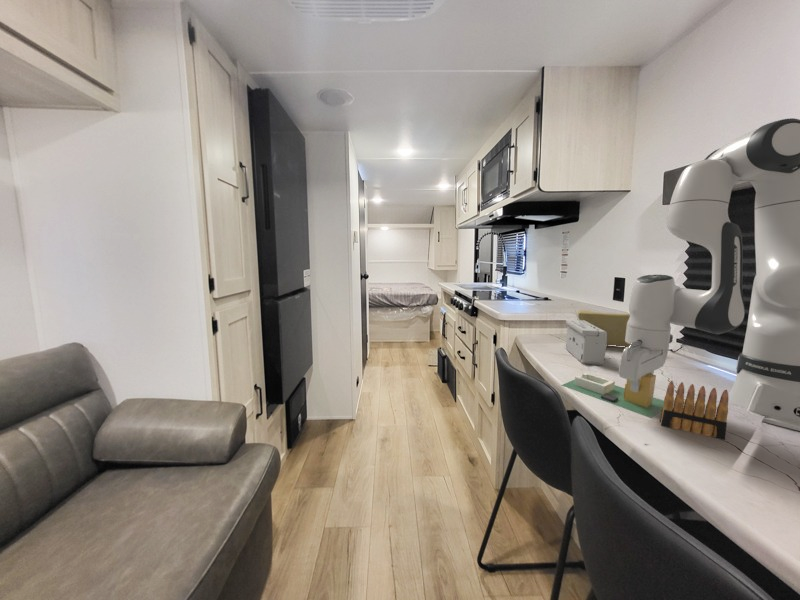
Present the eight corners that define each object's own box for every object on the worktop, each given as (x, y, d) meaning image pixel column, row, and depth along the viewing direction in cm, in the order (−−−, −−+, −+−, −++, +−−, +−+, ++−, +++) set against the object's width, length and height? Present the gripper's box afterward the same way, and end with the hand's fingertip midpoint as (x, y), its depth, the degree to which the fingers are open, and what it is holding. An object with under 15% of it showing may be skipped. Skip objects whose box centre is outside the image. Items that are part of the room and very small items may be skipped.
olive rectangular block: (631, 345, 138) (635, 313, 136) (634, 351, 130) (639, 317, 128) (575, 338, 149) (578, 308, 147) (575, 343, 141) (578, 311, 139)
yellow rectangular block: (652, 404, 81) (656, 375, 80) (646, 407, 79) (650, 378, 78) (627, 396, 85) (630, 368, 84) (621, 399, 83) (625, 371, 82)
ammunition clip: (660, 430, 71) (667, 381, 69) (658, 426, 72) (665, 378, 71) (724, 445, 65) (734, 392, 64) (721, 441, 67) (730, 389, 65)
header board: (670, 407, 82) (672, 394, 81) (650, 422, 74) (652, 408, 73) (584, 379, 100) (585, 368, 99) (560, 388, 92) (561, 377, 92)
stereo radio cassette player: (605, 366, 111) (611, 312, 108) (580, 365, 113) (585, 311, 110) (583, 349, 132) (587, 303, 129) (562, 348, 133) (566, 303, 130)
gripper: (645, 347, 71) (638, 403, 73) (675, 335, 82) (668, 384, 84) (614, 340, 76) (608, 393, 78) (647, 330, 87) (640, 376, 89)
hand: (639, 388), depth 81 cm, fingers open, 5 cm apart
